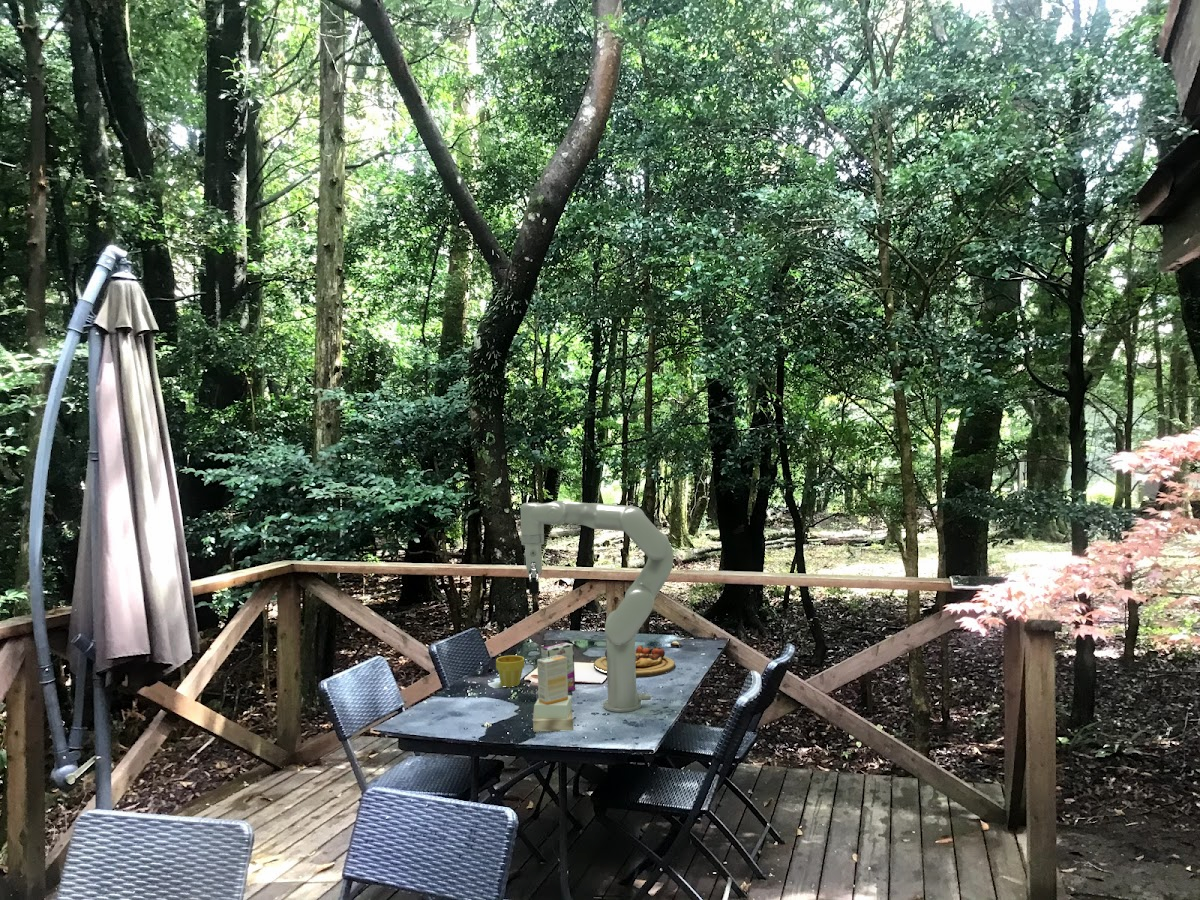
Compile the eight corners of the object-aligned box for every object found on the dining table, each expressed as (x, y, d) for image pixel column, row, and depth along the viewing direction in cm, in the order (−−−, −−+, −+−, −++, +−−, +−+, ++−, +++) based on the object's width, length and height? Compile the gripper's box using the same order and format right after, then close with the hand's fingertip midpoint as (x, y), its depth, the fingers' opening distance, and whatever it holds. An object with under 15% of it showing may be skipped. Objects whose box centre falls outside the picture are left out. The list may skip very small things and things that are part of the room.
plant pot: (528, 687, 280) (527, 660, 281) (500, 691, 277) (499, 663, 277) (520, 680, 290) (519, 653, 290) (493, 683, 286) (492, 657, 286)
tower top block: (572, 708, 244) (571, 695, 244) (567, 718, 234) (566, 705, 234) (540, 707, 245) (540, 695, 245) (534, 718, 235) (534, 705, 235)
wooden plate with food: (652, 683, 283) (651, 660, 283) (578, 672, 299) (578, 650, 299) (688, 664, 310) (688, 643, 311) (619, 655, 327) (618, 635, 327)
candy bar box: (567, 687, 279) (566, 641, 279) (575, 690, 275) (574, 644, 275) (541, 694, 271) (540, 647, 272) (550, 697, 268) (548, 649, 268)
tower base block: (572, 719, 245) (571, 706, 245) (573, 732, 233) (572, 719, 233) (534, 721, 245) (533, 708, 245) (533, 734, 233) (533, 720, 233)
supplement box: (559, 696, 243) (558, 654, 244) (568, 699, 240) (567, 657, 240) (537, 701, 238) (536, 658, 239) (546, 705, 235) (545, 661, 235)
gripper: (544, 542, 249) (546, 595, 249) (543, 537, 266) (544, 587, 266) (521, 542, 248) (522, 596, 248) (521, 537, 266) (522, 588, 265)
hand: (533, 591), depth 257 cm, fingers open, 9 cm apart
